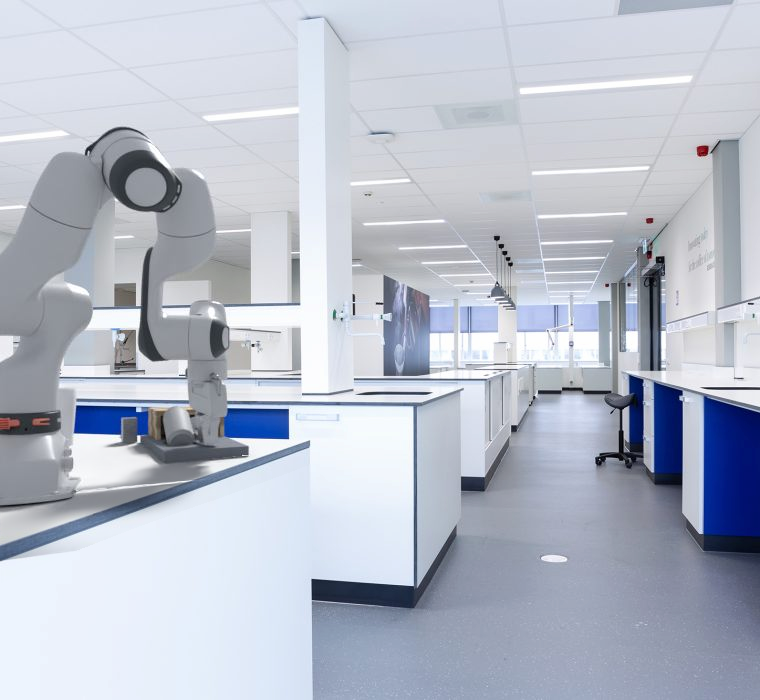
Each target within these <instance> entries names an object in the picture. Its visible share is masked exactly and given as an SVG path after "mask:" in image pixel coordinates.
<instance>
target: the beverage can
mask: <svg viewBox="0 0 760 700" xmlns="http://www.w3.org/2000/svg"><path fill="white" fill-rule="evenodd" d="M180 406H181V405H173V406H169V407H170V408H169V409H167V410H166V412H165V414H164V416H163V423H164V429H165V434H166V440H167V444H168V445H183V444H194V441H195V437H194V433H193V429H192V425H191V420H190V416H189V413H188V412H187V411H186V410H185V409H184V408H183V407H180Z"/></svg>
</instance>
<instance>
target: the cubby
mask: <svg viewBox="0 0 760 700" xmlns="http://www.w3.org/2000/svg"><path fill="white" fill-rule="evenodd" d="M179 406H180V407H183V408H184V409H185V410H186V411H187V412H188V413H189V415H195V414H196V410H194V409H192V408H190V405H183V406H181V405H179ZM170 407H171V406H154V407H153V406H151V407H149V406H148V408H147V414H148V416H147V417H148V420H147V428H148V429H147V433H148V434H147V435H149V436H151V437H153V438H154V439H156V440H161V435H162V434H165V429H164V423H163V416H164V414H165V412H166V410H167V409H169V408H170ZM218 436H225V417H220V423H219V427H218Z"/></svg>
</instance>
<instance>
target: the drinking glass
mask: <svg viewBox="0 0 760 700" xmlns="http://www.w3.org/2000/svg"><path fill="white" fill-rule="evenodd" d="M76 409H77V388H76V387H59V396H58V410H60V411H61V417H62V421H61V429H60V432H61V434H62V435H63V436H64V437H66V439H68V440H69V447H70V446H73V445H74V433H75V423H76V412H77V410H76Z"/></svg>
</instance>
